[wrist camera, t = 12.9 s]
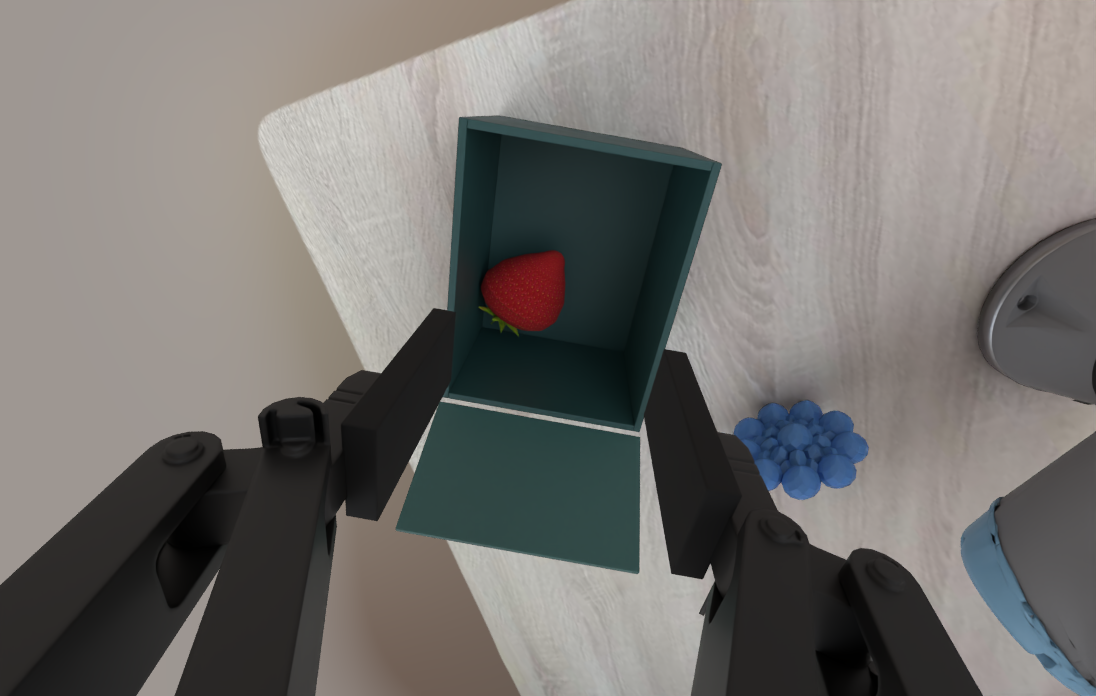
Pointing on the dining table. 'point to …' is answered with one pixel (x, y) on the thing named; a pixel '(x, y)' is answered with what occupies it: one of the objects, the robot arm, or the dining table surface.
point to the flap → (528, 488)
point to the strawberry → (525, 291)
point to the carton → (572, 263)
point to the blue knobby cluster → (803, 447)
